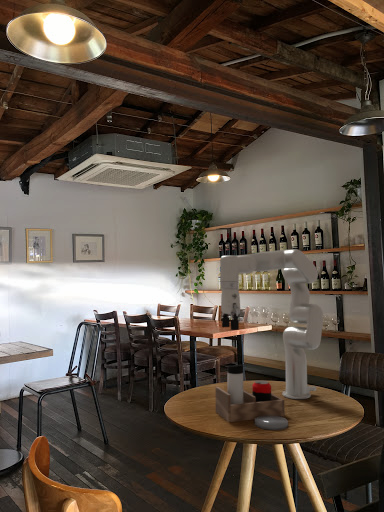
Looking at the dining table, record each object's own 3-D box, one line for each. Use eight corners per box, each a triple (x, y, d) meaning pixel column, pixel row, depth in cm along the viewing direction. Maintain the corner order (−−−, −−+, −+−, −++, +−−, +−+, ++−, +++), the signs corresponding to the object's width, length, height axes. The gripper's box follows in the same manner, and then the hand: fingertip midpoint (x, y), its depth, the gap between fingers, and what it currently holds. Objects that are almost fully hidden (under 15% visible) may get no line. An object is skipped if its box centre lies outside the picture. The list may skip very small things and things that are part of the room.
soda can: (248, 412, 174) (248, 382, 174) (259, 408, 179) (259, 379, 180) (264, 416, 168) (264, 385, 169) (275, 412, 174) (274, 382, 175)
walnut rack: (268, 406, 182) (268, 382, 182) (284, 415, 170) (284, 389, 170) (215, 411, 174) (215, 386, 175) (228, 422, 162) (228, 395, 163)
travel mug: (233, 418, 166) (233, 366, 167) (224, 414, 172) (224, 363, 173) (247, 416, 169) (246, 364, 170) (237, 411, 175) (237, 361, 176)
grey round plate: (277, 417, 167) (277, 413, 167) (294, 427, 156) (294, 423, 156) (249, 421, 163) (249, 417, 163) (264, 431, 152) (264, 427, 152)
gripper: (246, 286, 168) (247, 330, 167) (230, 285, 184) (230, 325, 184) (228, 286, 166) (229, 331, 165) (213, 285, 182) (214, 326, 181)
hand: (230, 328), depth 174 cm, fingers open, 9 cm apart
